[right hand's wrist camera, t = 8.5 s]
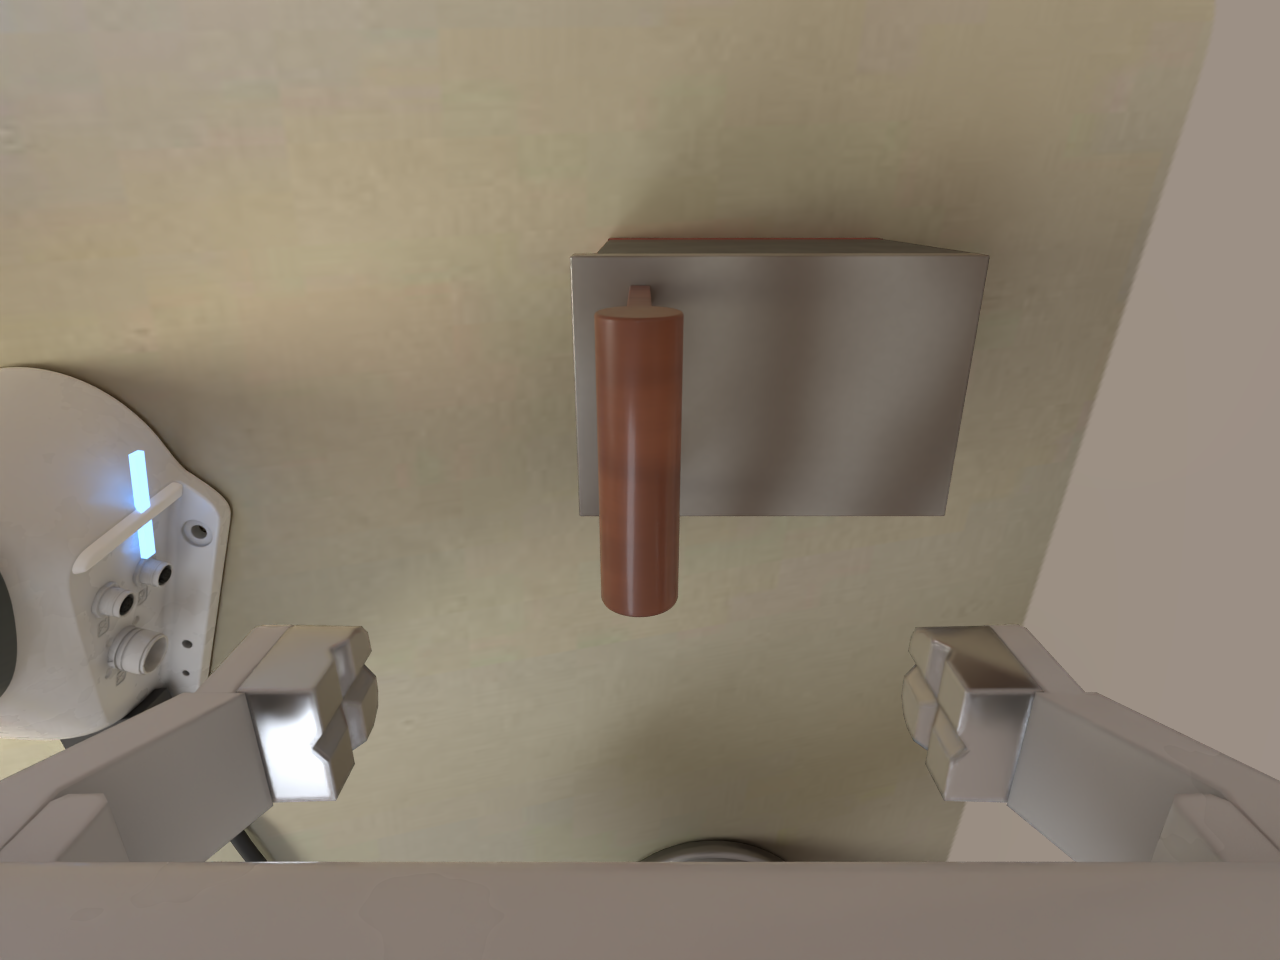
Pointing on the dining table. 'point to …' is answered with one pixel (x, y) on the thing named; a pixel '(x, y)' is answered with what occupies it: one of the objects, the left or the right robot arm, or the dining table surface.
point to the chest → (763, 246)
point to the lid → (762, 393)
